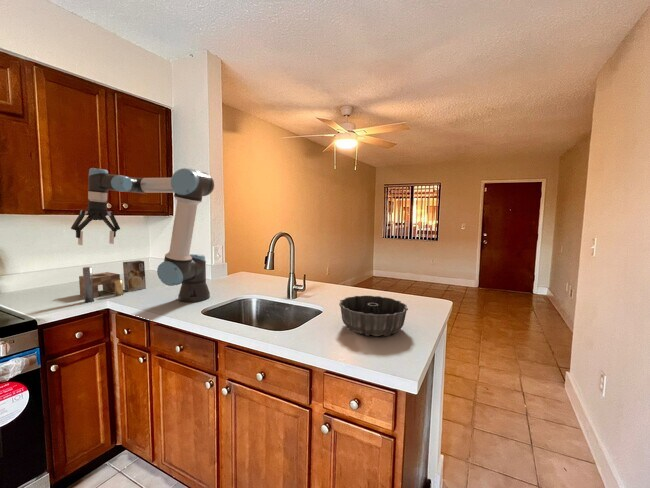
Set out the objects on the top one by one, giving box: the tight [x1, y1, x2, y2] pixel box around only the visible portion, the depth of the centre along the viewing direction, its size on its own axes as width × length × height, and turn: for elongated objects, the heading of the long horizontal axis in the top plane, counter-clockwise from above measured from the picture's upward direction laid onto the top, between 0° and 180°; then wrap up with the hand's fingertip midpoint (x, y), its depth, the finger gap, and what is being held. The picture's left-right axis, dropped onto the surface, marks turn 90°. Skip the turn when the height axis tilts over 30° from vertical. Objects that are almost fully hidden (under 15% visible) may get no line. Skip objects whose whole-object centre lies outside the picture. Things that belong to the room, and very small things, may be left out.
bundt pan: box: [338, 295, 409, 337], centre depth 122 cm, size 26×26×10 cm
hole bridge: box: [78, 271, 121, 298], centre depth 168 cm, size 12×14×10 cm
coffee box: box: [122, 260, 147, 292], centre depth 178 cm, size 9×6×16 cm
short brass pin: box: [114, 279, 124, 297], centre depth 165 cm, size 4×4×8 cm
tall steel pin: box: [82, 266, 95, 303], centre depth 153 cm, size 4×4×17 cm
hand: (96, 244), depth 153 cm, fingers open, 13 cm apart
